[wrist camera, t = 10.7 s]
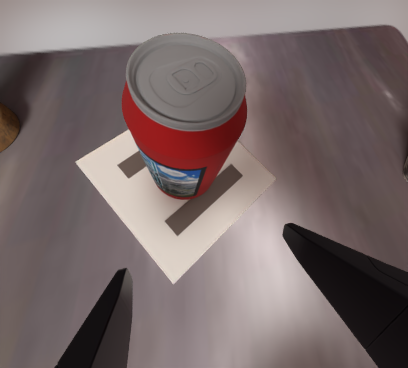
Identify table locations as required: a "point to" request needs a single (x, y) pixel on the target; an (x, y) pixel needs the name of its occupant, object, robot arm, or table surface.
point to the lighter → (406, 170)
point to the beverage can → (184, 110)
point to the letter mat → (173, 201)
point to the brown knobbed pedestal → (7, 127)
